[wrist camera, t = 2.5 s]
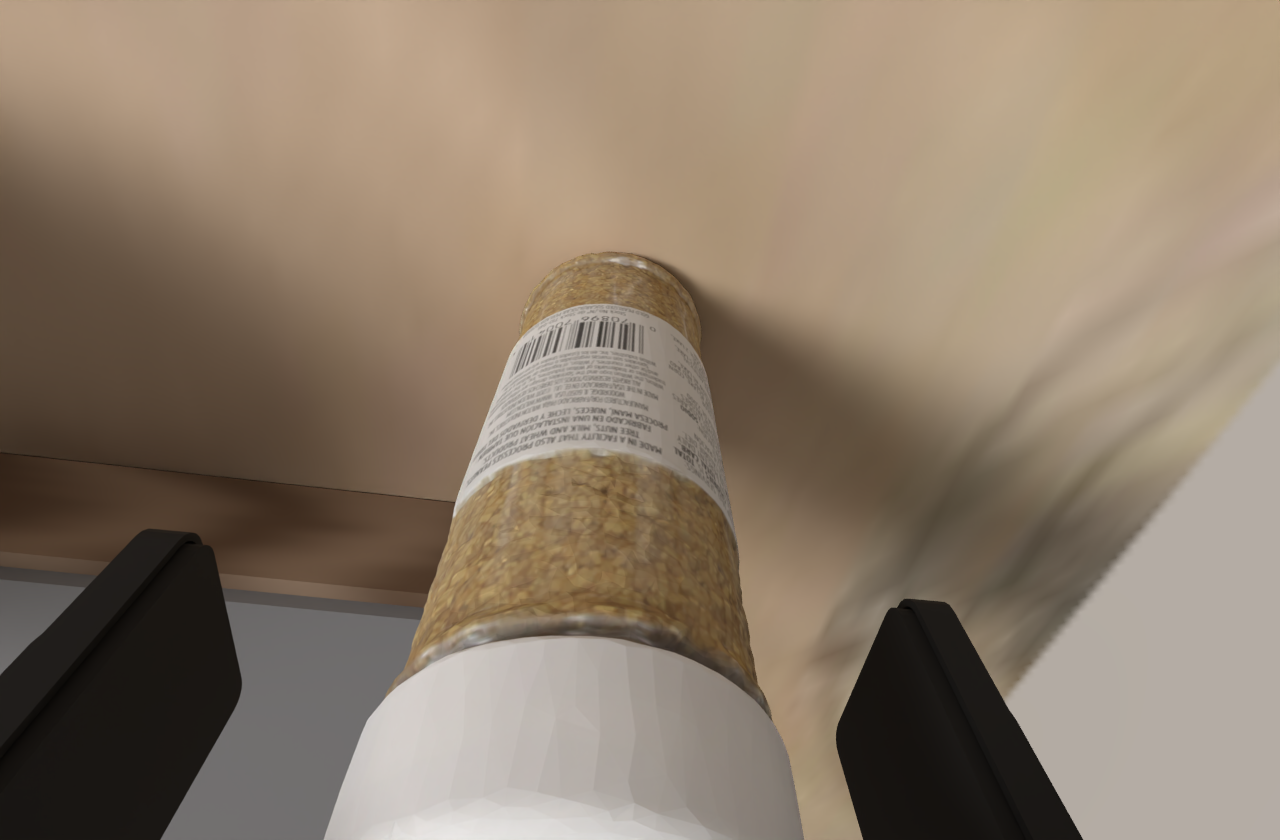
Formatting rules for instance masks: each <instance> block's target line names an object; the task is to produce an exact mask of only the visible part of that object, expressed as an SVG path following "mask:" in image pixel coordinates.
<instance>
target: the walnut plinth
mask: <svg viewBox="0 0 1280 840" xmlns="http://www.w3.org/2000/svg"><path fill="white" fill-rule="evenodd" d="M454 507H455V503H452V502H443V501H434V500H425V499H416V498H407V497H397V496H388V495H379V494H370V493H361V492H352V491H342V490H333V489H324V488H315V487H306V486H297V485H288V484H278V483H269V482H260V481H251V480H242V479H233V478H224V477H214V476H205V475H196V474H187V473H178V472H169V471H160V470H150V469H141V468H132V467H123V466H114V465H105V464H96V463H86V462H77V461H68V460H59V459H50V458H41V457H32V456H22V455H13V454H4V453H0V675H1V674H2V672H3V671H4V670H5V669H6V668H7V667H8V666H9V665H10V664H11V663H12V662H13V661H14V660H15V659H16V658H17V657H18V656H19V655H20V654H21V653H22V652H23V651H24V650H25V648H26V647H27V646H28V645H29V644H30V643H31V642H33V641H34V640H35V639H36V638H37V637H38V636H40V635H41V634H42V633H43V632H44V631H45V630H46V629H47V628H48V627H49V626H50V625H51V624H52V623H53V622H54V621H55V620H56V619H57V618H58V617H59V616H60V615H61V614H62V612H63V611H64V610H65V609H66V608H67V607H68V606H69V605H70V604H71V603H72V602H73V601H74V600H75V599H76V598H77V597H78V596H79V595H80V594H81V593H82V592H83V590H84V589H85V588H86V587H87V586H88V585H89V584H90V583H91V582H92V581H93V580H94V579H95V578H96V577H97V576H98V575H99V574H100V573H101V572H102V571H103V570H104V568H105V567H106V566H107V565H108V564H109V563H110V562H111V561H112V560H113V559H114V558H115V557H116V556H117V555H118V554H119V553H120V552H121V551H122V550H123V549H124V548H125V546H126V545H127V544H128V543H129V542H130V541H131V540H132V539H133V538H134V537H135V536H136V535H137V534H139V533H140V532H141V531H143V530H146V529H160V530H171V531H182V532H192V533H196V534H197V535H198V536H199V537H200V538H201V540H202V543H203V545H209V546H211V547H212V548H213V551H214V554H215V559H216V563H217V568H218V572H219V577H220V581H221V586H222V590H223V595H224V600H225V604H226V609H227V613H228V618H229V622H230V627H231V631H232V636H233V641H234V645H235V650H236V654H237V659H238V663H239V668H240V672H241V677H242V690H241V694H240V698H239V701H238V703H237V705H236V708H235V710H234V711H233V713H232V715H231V717H230V718H229V720H228V722H227V724H226V725H225V727H224V729H223V731H222V732H221V734H220V736H219V738H218V739H217V741H216V743H215V745H214V746H213V748H212V750H211V752H210V753H209V755H208V757H207V759H206V760H205V762H204V764H203V766H202V768H201V769H200V771H199V773H198V775H197V776H196V778H195V780H194V782H193V783H192V785H191V787H190V789H189V790H188V792H187V794H186V796H185V797H184V799H183V801H182V803H181V804H180V806H179V808H178V810H177V811H176V813H175V815H174V817H173V818H172V820H171V822H170V824H169V825H168V827H167V829H166V831H165V832H164V834H163V836H162V838H161V839H160V840H324V837H325V834H326V831H327V828H328V825H329V822H330V819H331V816H332V813H333V810H334V807H335V804H336V801H337V798H338V795H339V792H340V789H341V787H342V784H343V781H344V779H345V776H346V773H347V771H348V768H349V765H350V763H351V760H352V757H353V755H354V752H355V749H356V747H357V744H358V741H359V739H360V736H361V734H362V731H363V729H364V727H365V724H366V722H367V720H368V718H369V717H370V716H371V715H372V714H373V712H374V711H375V710H376V709H377V708H378V706H379V705H380V704H381V703H382V702H383V700H384V698H385V696H386V693H387V691H388V690H389V688H390V686H391V685H392V683H393V681H394V680H395V679H396V678H397V677H398V675H399V674H400V673H401V672H402V671H403V670H404V668H405V666H406V663H407V661H408V658H409V655H410V652H411V649H412V647H411V646H412V642H413V639H414V636H415V633H416V631H417V628H418V626H419V623H420V621H421V618H422V615H423V612H424V606H425V604H426V602H427V599H428V594H429V590H430V587H431V585H432V583H433V581H434V579H435V577H436V573H437V568H438V565H439V562H440V560H441V557H442V553H443V551H444V548H445V546H446V544H447V541H448V535H449V532H450V527H451V523H452V518H453V512H454Z"/></svg>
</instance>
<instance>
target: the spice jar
mask: <svg viewBox="0 0 1280 840" xmlns="http://www.w3.org/2000/svg"><path fill="white" fill-rule="evenodd" d="M519 334H520V337H519V340H518V342H517V344H516V345H515V347H514V348H513V350H512V352H511V354H510V356H509V359H508V361H507V364H506V367H505V369H504V372H503V375H502V377H501V380H500V383H499V385H498V388H497V391H496V394H495V397H494V399H493V401H492V404H491V407H490V409H489V412H488V415H487V417H486V420H485V423H484V425H483V428H482V430H481V433H480V436H479V439H478V442H477V445H476V447H475V450H474V452H473V455H472V458H471V461H470V464H469V467H468V469H467V472H466V475H465V477H464V480H463V483H462V485H461V488H460V491H459V493H458V497H457V500H456V503H455V507H454V512H453V518H452V523H451V527H450V532H449V535H448V541H447V544H446V546H445V548H444V551H443V553H442V557H441V560H440V562H439V565H438V568H437V573H436V577H435V579H434V581H433V583H432V585H431V587H430V590H429V594H428V599H427V602H426V604H425V606H424V612H423V615H422V618H421V621H420V623H419V626H418V628H417V631H416V633H415V636H414V639H413V642H412V646H411V647H412V649H411V652H410V655H409V658H408V661H407V663H406V666H405V668H404V670H403V671H402V672H401V673H400V674H399V675H398V677H397V678H396V679H395V680H394V681H393V683H392V685H391V686H390V688H389V690H388V691H387V693H386V696H385V698H384V700H383V702H382V703H381V704H380V705H379V706H378V708H377V709H376V710H375V711H374V712H373V714H372V715H371V716H370V717H369V718H368V720H367V722H366V724H365V727H364V729H363V731H362V734H361V736H360V739H359V741H358V744H357V747H356V749H355V752H354V755H353V757H352V760H351V763H350V765H349V768H348V771H347V773H346V776H345V779H344V781H343V784H342V787H341V789H340V792H339V795H338V798H337V801H336V804H335V807H334V810H333V813H332V816H331V819H330V822H329V825H328V828H327V831H326V834H325V837H324V840H804V836H803V830H802V825H801V819H800V813H799V808H798V802H797V797H796V791H795V785H794V781H793V776H792V771H791V766H790V761H789V756H788V753H787V750H786V748H785V745H784V742H783V740H782V738H781V736H780V734H779V732H778V731H777V729H776V727H775V725H774V724H773V721H772V718H771V716H772V715H771V710H770V708H769V705H768V703H767V700H766V698H765V695H764V693H763V692H762V690H761V689H760V687H759V686H758V683H757V676H756V672H755V665H754V658H753V654H752V651H751V648H750V635H749V630H748V623H747V619H746V615H745V612H744V609H743V606H742V591H741V587H740V577H739V553H738V545H737V539H736V534H735V528H734V523H733V517H732V512H731V506H730V501H729V495H728V490H727V484H726V479H725V473H724V467H723V462H722V456H721V451H720V445H719V439H718V434H717V428H716V422H715V416H714V410H713V404H712V399H711V393H710V388H709V383H708V378H707V374H706V372H705V369H704V366H703V364H702V360H701V353H700V343H701V325H700V319H699V315H698V313H697V311H696V308H695V305H694V302H693V300H692V298H691V296H690V294H689V293H688V292H687V291H686V290H685V289H684V288H683V286H682V285H681V284H680V282H679V281H678V280H677V279H676V278H675V277H674V276H673V275H672V274H670V273H669V272H667V271H666V270H665V269H664V268H662V267H661V266H659V265H658V264H655V263H652V262H651V261H649V260H647V259H645V258H642V257H639V256H637V255H634V254H629V253H617V252H603V253H598V254H593V253H591V254H586V255H582V256H579V257H576V258H574V259H573V260H570V261H568V262H565V263H563V264H561V265H560V266H558V267H557V268H555V269H553V270H552V271H551V272H550V273H549V274H548V275H547V276H546V277H545V278H544V279H543V280H542V282H541V283H540V284H539V285H538V286H536V287H535V288H534V289H533V291H532V293H531V295H530V297H529V299H528V301H527V303H526V305H525V307H524V310H523V313H522V316H521V321H520V329H519Z"/></svg>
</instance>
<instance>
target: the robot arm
mask: <svg viewBox="0 0 1280 840" xmlns="http://www.w3.org/2000/svg"><path fill="white" fill-rule="evenodd" d="M241 690H242V677H241V672H240V668H239V663H238V659H237V654H236V650H235V645H234V641H233V636H232V631H231V627H230V622H229V618H228V613H227V609H226V604H225V600H224V595H223V590H222V586H221V581H220V577H219V572H218V568H217V563H216V559H215V554H214V551H213V548H212V547H211V546H209V545H203V543H202V540H201V538H200V537H199V536H198V535H197V534H196V533H192V532H182V531H171V530H160V529H146V530H143V531H141V532H140V533H139V534H137V535H136V536H135V537H134V538H133V539H132V540H131V541H130V542H129V543H128V544H127V545H126V546H125V548H124V549H123V550H122V551H121V552H120V553H119V554H118V555H117V556H116V557H115V558H114V559H113V560H112V561H111V562H110V563H109V564H108V565H107V566H106V567H105V568H104V570H103V571H102V572H101V573H100V574H99V575H98V576H97V577H96V578H95V579H94V580H93V581H92V582H91V583H90V584H89V585H88V586H87V587H86V588H85V589H84V590H83V592H82V593H81V594H80V595H79V596H78V597H77V598H76V599H75V600H74V601H73V602H72V603H71V604H70V605H69V606H68V607H67V608H66V609H65V610H64V611H63V612H62V614H61V615H60V616H59V617H58V618H57V619H56V620H55V621H54V622H53V623H52V624H51V625H50V626H49V627H48V628H47V629H46V630H45V631H44V632H43V633H42V634H41V635H40V636H38V637H37V638H36V639H35V640H34V641H33V642H31V643H30V644H29V645H28V646H27V647H26V648H25V650H24V651H23V652H22V653H21V654H20V655H19V656H18V657H17V658H16V659H15V660H14V661H13V662H12V663H11V664H10V665H9V666H8V667H7V668H6V669H5V670H4V671H3V672H2V674H1V675H0V840H160V839H161V838H162V836H163V834H164V832H165V831H166V829H167V827H168V825H169V824H170V822H171V820H172V818H173V817H174V815H175V813H176V811H177V810H178V808H179V806H180V804H181V803H182V801H183V799H184V797H185V796H186V794H187V792H188V790H189V789H190V787H191V785H192V783H193V782H194V780H195V778H196V776H197V775H198V773H199V771H200V769H201V768H202V766H203V764H204V762H205V760H206V759H207V757H208V755H209V753H210V752H211V750H212V748H213V746H214V745H215V743H216V741H217V739H218V738H219V736H220V734H221V732H222V731H223V729H224V727H225V725H226V724H227V722H228V720H229V718H230V717H231V715H232V713H233V711H234V710H235V708H236V705H237V703H238V701H239V698H240V694H241ZM836 744H837V750H838V754H839V758H840V761H841V765H842V768H843V771H844V775H845V778H846V782H847V785H848V789H849V792H850V796H851V799H852V802H853V806H854V809H855V813H856V816H857V820H858V823H859V827H860V830H861V833H862V837H863V840H1083V839H1082V837H1081V835H1080V833H1079V831H1078V830H1077V828H1076V826H1075V824H1074V823H1073V821H1072V819H1071V817H1070V815H1069V814H1068V812H1067V810H1066V808H1065V806H1064V805H1063V803H1062V801H1061V799H1060V798H1059V796H1058V794H1057V792H1056V790H1055V789H1054V787H1053V785H1052V783H1051V782H1050V780H1049V778H1048V776H1047V774H1046V772H1045V771H1044V769H1043V767H1042V765H1041V764H1040V762H1039V760H1038V758H1037V756H1036V755H1035V753H1034V751H1033V749H1032V748H1031V746H1030V744H1029V742H1028V741H1027V738H1026V737H1025V735H1024V733H1023V731H1022V730H1021V728H1020V726H1019V724H1018V723H1017V721H1016V719H1015V718H1014V716H1013V715H1012V713H1011V712H1010V711H1009V709H1008V707H1007V706H1006V704H1005V702H1004V700H1003V698H1002V697H1001V695H1000V693H999V691H998V689H997V688H996V686H995V684H994V682H993V680H992V679H991V677H990V675H989V673H988V671H987V670H986V668H985V666H984V664H983V662H982V661H981V659H980V657H979V655H978V653H977V652H976V650H975V648H974V646H973V645H972V643H971V641H970V639H969V637H968V636H967V634H966V632H965V630H964V628H963V627H962V625H961V623H960V621H959V619H958V618H957V616H956V614H955V612H954V611H953V609H952V608H951V607H950V605H948V604H947V603H945V602H938V601H927V600H916V599H904V600H903V601H901V602H900V604H899V606H898V607H897V608H890V609H889V610H888V612H887V613H886V615H885V618H884V620H883V622H882V624H881V627H880V629H879V631H878V634H877V636H876V638H875V640H874V643H873V645H872V647H871V650H870V652H869V654H868V656H867V659H866V661H865V663H864V666H863V668H862V670H861V673H860V675H859V677H858V679H857V682H856V684H855V686H854V689H853V691H852V693H851V695H850V698H849V700H848V702H847V705H846V707H845V709H844V711H843V714H842V716H841V718H840V721H839V723H838V726H837V731H836Z"/></svg>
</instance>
